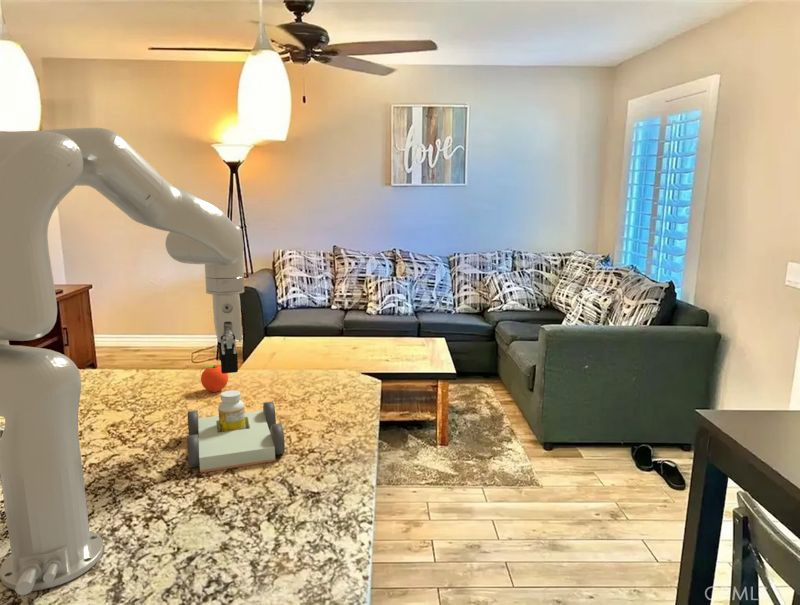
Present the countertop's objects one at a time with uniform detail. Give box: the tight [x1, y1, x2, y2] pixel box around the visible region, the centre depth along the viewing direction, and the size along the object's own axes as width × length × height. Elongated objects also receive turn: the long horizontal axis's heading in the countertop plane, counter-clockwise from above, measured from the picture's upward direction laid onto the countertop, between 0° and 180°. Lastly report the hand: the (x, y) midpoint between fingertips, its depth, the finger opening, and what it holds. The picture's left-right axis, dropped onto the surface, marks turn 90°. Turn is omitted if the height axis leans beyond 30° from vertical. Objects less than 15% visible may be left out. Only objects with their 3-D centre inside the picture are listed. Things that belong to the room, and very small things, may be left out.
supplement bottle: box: [218, 389, 246, 432], centre depth 121 cm, size 5×5×10 cm
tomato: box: [199, 365, 229, 393], centre depth 150 cm, size 8×7×7 cm
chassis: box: [186, 401, 286, 473], centre depth 118 cm, size 20×18×6 cm
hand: (228, 366), depth 119 cm, fingers open, 9 cm apart
